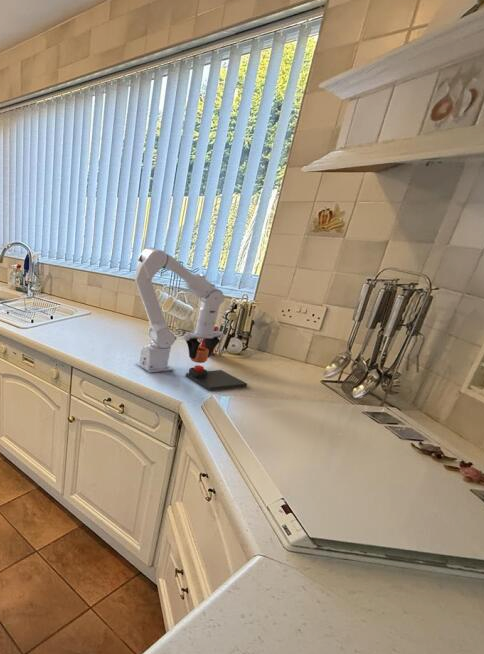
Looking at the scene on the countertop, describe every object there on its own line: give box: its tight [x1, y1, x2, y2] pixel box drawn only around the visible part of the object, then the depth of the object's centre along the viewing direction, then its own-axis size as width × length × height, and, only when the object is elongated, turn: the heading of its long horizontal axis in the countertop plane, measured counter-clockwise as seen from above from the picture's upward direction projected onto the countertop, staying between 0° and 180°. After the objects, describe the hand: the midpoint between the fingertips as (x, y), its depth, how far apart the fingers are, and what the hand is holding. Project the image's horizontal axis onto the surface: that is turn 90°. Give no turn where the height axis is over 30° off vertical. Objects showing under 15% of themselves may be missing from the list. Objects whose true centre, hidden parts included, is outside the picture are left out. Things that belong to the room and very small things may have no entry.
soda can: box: [197, 323, 220, 355], centre depth 160 cm, size 7×7×12 cm
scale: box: [185, 366, 248, 392], centre depth 136 cm, size 14×13×3 cm
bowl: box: [189, 347, 209, 364], centre depth 145 cm, size 5×5×4 cm
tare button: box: [194, 364, 205, 372], centre depth 137 cm, size 3×3×2 cm
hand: (198, 357), depth 145 cm, fingers closed on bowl, 5 cm apart
